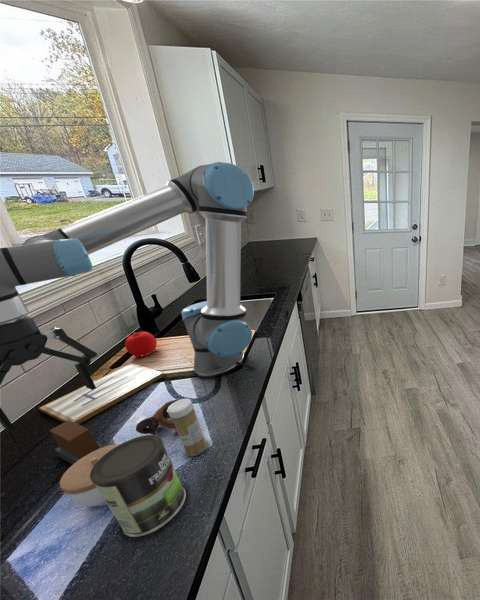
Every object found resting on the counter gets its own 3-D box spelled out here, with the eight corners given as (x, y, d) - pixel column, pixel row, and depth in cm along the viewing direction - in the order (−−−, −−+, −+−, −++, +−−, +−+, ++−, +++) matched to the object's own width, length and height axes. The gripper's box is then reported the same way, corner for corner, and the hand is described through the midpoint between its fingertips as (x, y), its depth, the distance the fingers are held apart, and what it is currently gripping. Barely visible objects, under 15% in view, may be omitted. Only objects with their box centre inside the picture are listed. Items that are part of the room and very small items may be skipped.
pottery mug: (185, 410, 88) (189, 391, 85) (197, 437, 84) (202, 418, 81) (130, 427, 79) (133, 407, 75) (141, 459, 75) (144, 438, 71)
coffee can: (194, 480, 67) (172, 429, 62) (172, 529, 58) (144, 475, 52) (140, 491, 65) (113, 440, 60) (109, 544, 56) (73, 489, 50)
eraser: (109, 453, 75) (95, 428, 72) (83, 471, 71) (67, 444, 68) (85, 441, 79) (70, 416, 76) (59, 457, 75) (42, 431, 72)
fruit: (128, 355, 119) (117, 331, 115) (156, 345, 125) (147, 322, 121) (133, 363, 113) (122, 339, 109) (163, 352, 119) (153, 329, 115)
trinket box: (105, 522, 60) (83, 488, 56) (63, 512, 62) (39, 479, 58) (156, 472, 69) (140, 440, 66) (118, 466, 71) (100, 435, 68)
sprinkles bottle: (181, 454, 73) (161, 409, 68) (199, 439, 77) (182, 396, 72) (195, 459, 72) (175, 413, 67) (212, 444, 76) (195, 400, 71)
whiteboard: (164, 376, 104) (163, 372, 104) (73, 427, 84) (70, 423, 83) (132, 366, 111) (131, 362, 110) (41, 411, 91) (38, 407, 90)
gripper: (73, 295, 73) (110, 371, 81) (-117, 349, 52) (-42, 444, 60) (90, 299, 70) (127, 377, 78) (-104, 357, 49) (-27, 455, 57)
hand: (54, 406), depth 69 cm, fingers open, 13 cm apart
